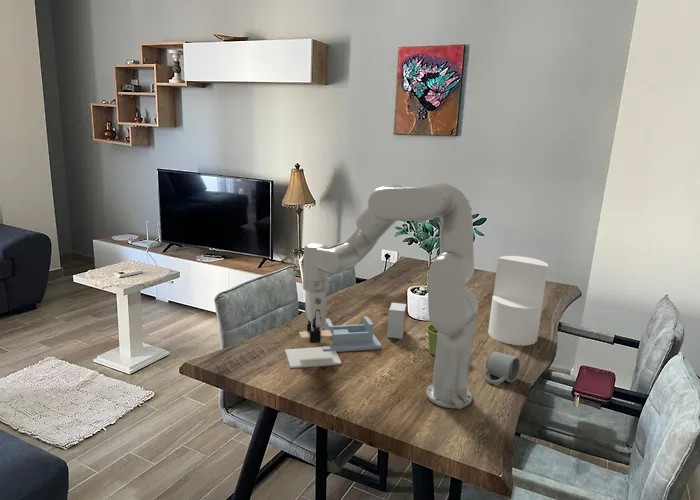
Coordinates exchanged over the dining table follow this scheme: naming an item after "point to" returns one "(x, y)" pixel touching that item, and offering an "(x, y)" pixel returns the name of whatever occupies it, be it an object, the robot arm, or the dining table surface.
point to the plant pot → (432, 338)
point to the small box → (396, 320)
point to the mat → (311, 357)
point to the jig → (352, 337)
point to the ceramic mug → (502, 367)
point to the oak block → (324, 341)
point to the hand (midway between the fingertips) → (313, 338)
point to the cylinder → (517, 300)
